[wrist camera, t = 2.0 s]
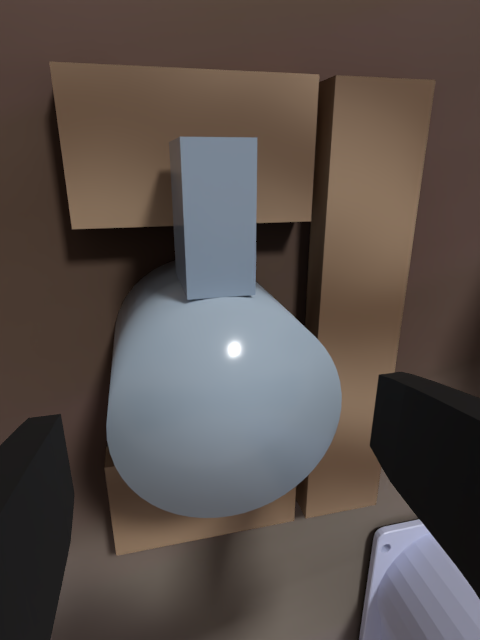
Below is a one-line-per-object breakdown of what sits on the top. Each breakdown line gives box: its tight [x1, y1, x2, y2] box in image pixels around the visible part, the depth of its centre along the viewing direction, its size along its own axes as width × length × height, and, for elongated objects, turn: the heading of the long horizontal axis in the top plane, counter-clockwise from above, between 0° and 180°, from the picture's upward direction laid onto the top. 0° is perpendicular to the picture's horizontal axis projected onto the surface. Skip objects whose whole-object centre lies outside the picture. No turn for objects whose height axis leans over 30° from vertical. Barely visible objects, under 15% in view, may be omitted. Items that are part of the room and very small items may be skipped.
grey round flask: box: [106, 137, 342, 518], centre depth 12 cm, size 9×6×6 cm, turn 0°
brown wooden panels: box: [49, 62, 436, 556], centre depth 15 cm, size 16×11×1 cm
